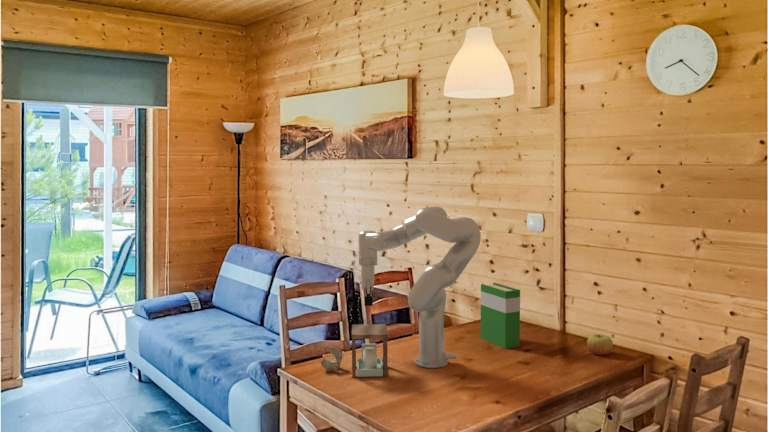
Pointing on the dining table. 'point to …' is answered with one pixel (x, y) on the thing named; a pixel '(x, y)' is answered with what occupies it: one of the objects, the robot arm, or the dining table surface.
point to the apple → (599, 344)
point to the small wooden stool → (369, 333)
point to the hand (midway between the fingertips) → (368, 305)
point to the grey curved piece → (330, 363)
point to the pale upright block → (369, 358)
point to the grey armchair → (369, 372)
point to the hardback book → (500, 315)
